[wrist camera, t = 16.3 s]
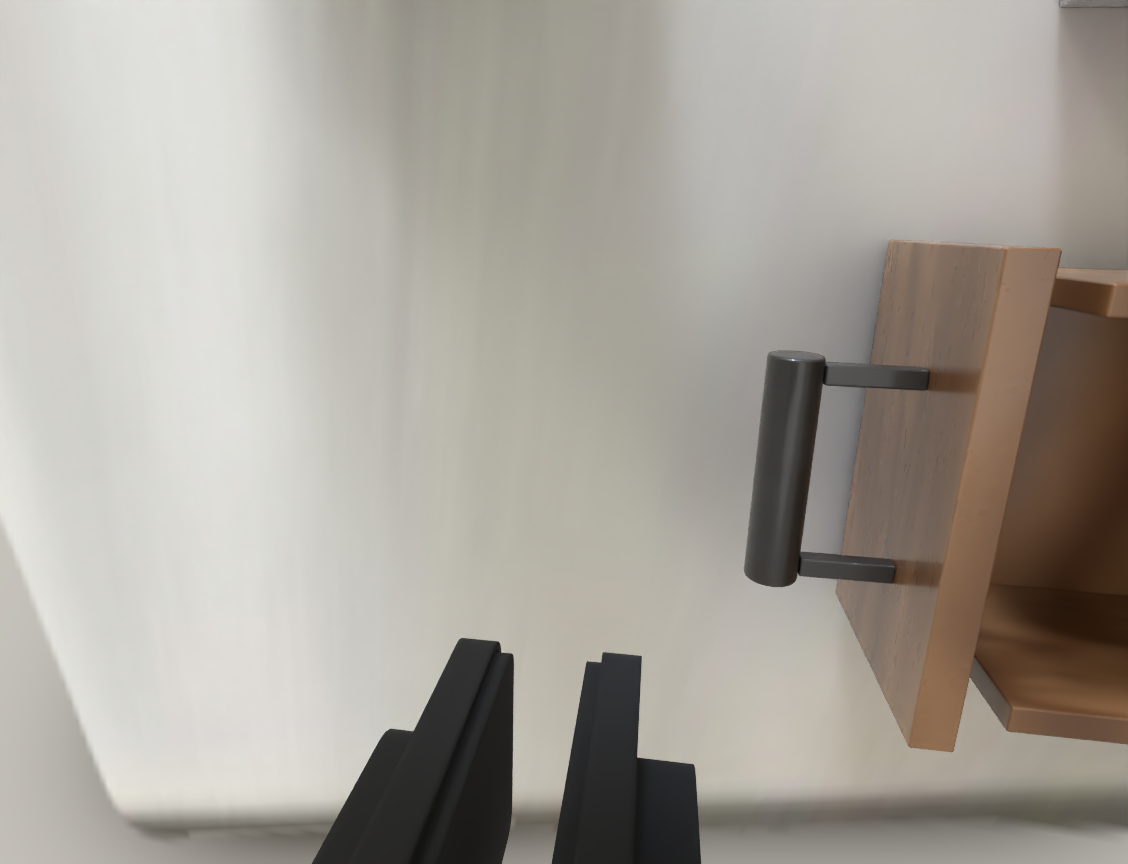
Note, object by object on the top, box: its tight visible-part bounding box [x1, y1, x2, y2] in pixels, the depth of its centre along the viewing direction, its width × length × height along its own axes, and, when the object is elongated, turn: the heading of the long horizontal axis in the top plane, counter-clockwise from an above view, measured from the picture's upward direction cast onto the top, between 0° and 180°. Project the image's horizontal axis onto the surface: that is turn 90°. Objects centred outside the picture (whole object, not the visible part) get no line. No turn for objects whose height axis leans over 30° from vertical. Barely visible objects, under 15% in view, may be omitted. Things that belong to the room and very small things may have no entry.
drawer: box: [744, 240, 1128, 752], centre depth 22 cm, size 19×13×9 cm
